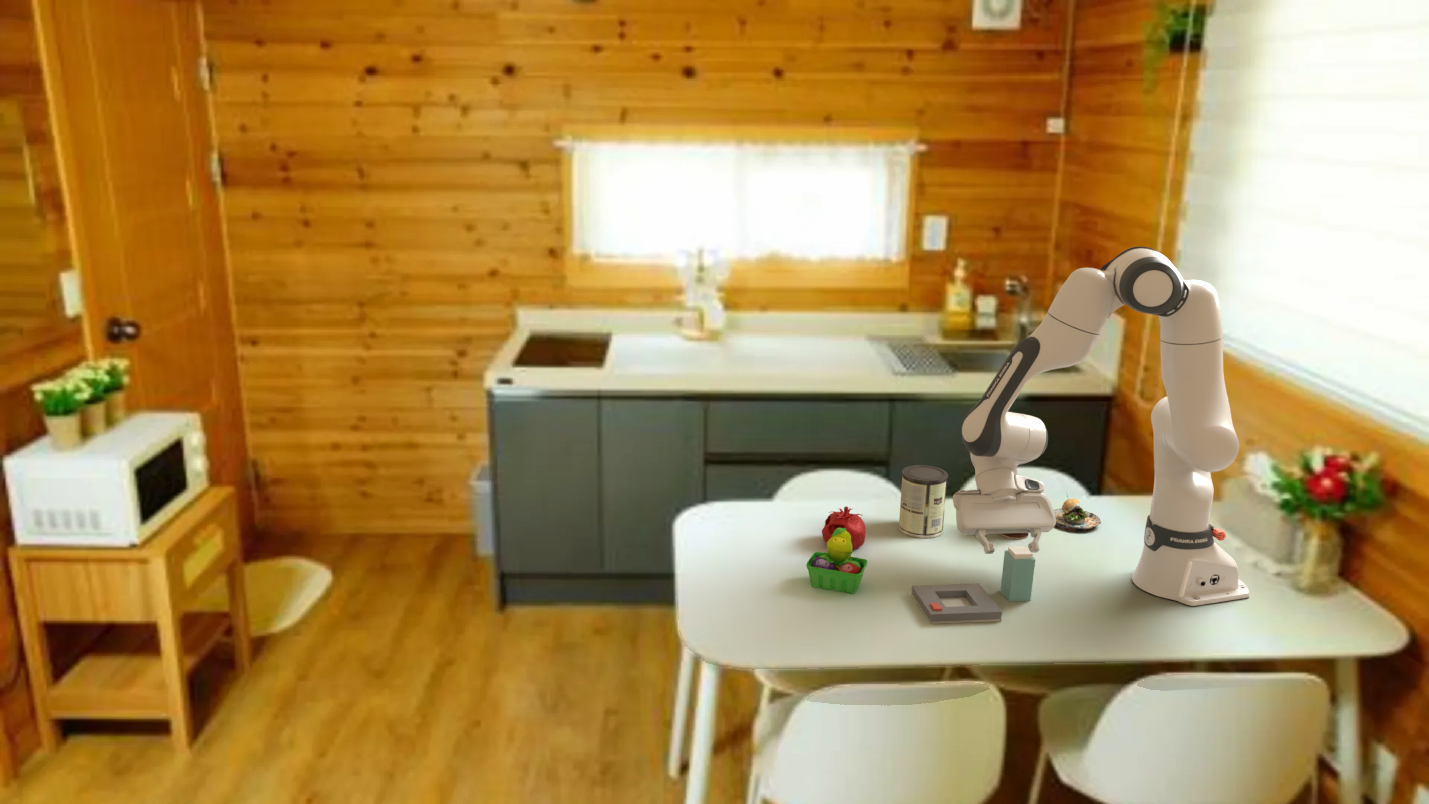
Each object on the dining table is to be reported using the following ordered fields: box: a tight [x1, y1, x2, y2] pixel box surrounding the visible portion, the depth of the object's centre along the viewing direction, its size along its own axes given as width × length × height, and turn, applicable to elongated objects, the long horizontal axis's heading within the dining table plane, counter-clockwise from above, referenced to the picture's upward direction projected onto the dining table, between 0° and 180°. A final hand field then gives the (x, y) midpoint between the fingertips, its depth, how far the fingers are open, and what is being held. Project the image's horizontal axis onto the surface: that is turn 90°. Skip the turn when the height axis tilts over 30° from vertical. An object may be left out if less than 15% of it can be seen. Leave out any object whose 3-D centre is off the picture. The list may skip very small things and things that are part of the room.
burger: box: [1053, 492, 1102, 534], centre depth 246 cm, size 12×12×8 cm
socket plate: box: [911, 582, 1003, 625], centre depth 205 cm, size 14×12×2 cm
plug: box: [1000, 545, 1036, 602], centre depth 209 cm, size 4×4×10 cm
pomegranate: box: [821, 506, 866, 551], centre depth 231 cm, size 10×10×9 cm
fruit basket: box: [805, 528, 868, 595], centre depth 212 cm, size 11×9×11 cm
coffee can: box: [898, 464, 949, 539], centre depth 240 cm, size 10×10×14 cm
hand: (1012, 552), depth 211 cm, fingers open, 8 cm apart
